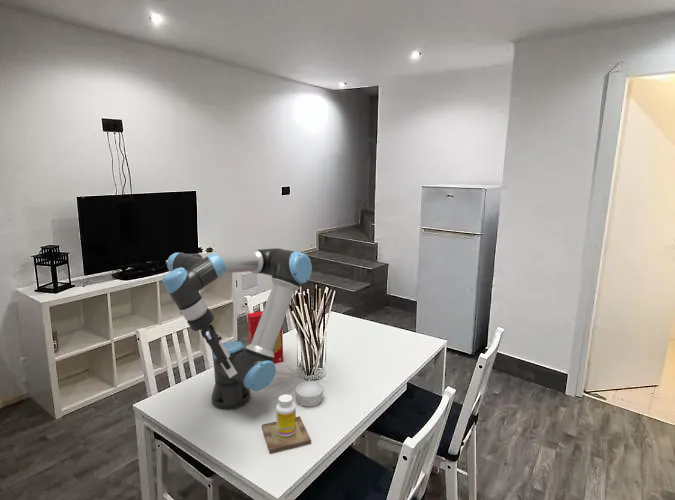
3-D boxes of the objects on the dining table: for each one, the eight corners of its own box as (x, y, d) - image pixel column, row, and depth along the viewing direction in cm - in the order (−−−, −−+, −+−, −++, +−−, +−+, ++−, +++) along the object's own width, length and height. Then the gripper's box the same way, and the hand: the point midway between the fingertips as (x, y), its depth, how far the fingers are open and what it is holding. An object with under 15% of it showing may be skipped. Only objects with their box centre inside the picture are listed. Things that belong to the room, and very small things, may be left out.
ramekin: (303, 390, 171) (302, 379, 170) (327, 396, 167) (327, 384, 166) (290, 405, 161) (290, 392, 160) (316, 411, 157) (316, 398, 156)
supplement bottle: (298, 435, 141) (297, 401, 138) (279, 439, 139) (277, 405, 136) (293, 423, 147) (292, 391, 144) (275, 427, 145) (274, 394, 142)
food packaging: (252, 368, 189) (250, 317, 184) (249, 364, 194) (247, 313, 188) (283, 361, 196) (281, 312, 191) (279, 357, 200) (277, 308, 195)
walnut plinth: (261, 428, 147) (261, 424, 147) (299, 419, 152) (299, 416, 152) (269, 453, 134) (269, 449, 134) (311, 443, 139) (310, 439, 139)
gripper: (183, 308, 139) (214, 357, 146) (189, 334, 117) (225, 390, 124) (204, 297, 141) (233, 345, 148) (213, 320, 119) (247, 376, 126)
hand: (229, 366), depth 136 cm, fingers open, 13 cm apart
